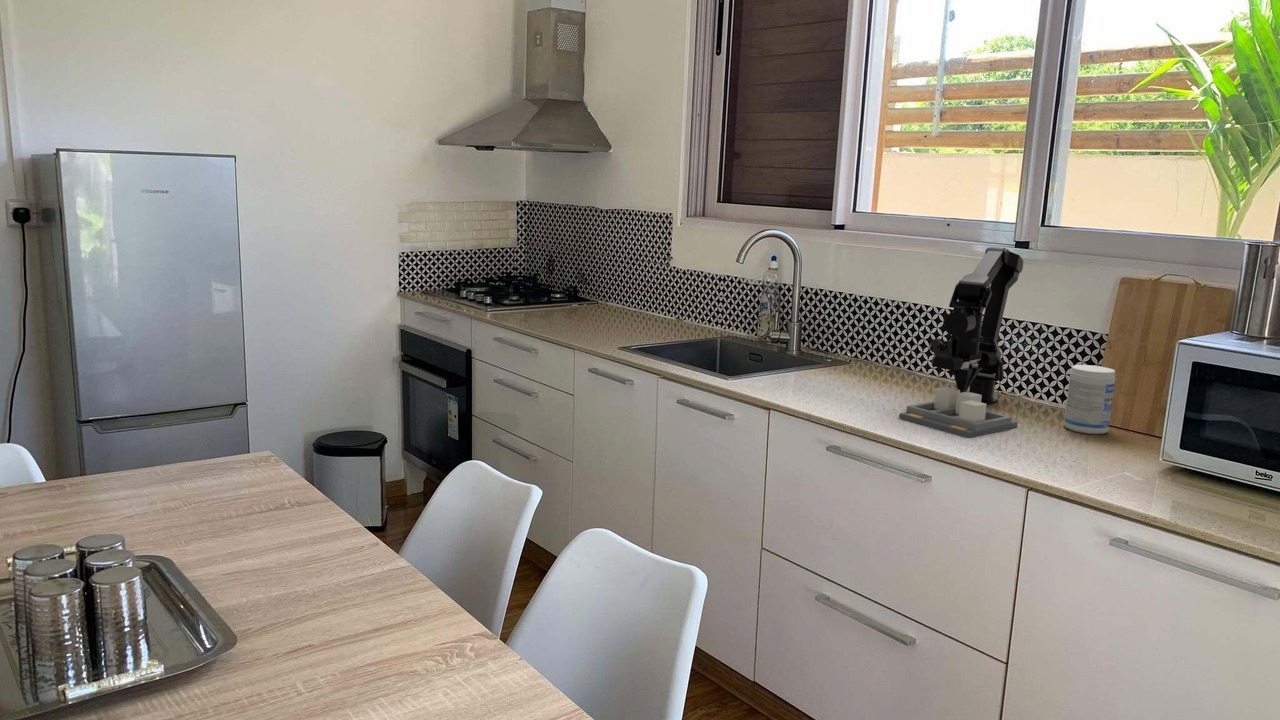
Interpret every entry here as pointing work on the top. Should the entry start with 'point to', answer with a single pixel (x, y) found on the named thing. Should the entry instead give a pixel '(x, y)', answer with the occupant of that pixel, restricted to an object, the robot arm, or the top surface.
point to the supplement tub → (1089, 399)
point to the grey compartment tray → (956, 420)
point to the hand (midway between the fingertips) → (961, 394)
